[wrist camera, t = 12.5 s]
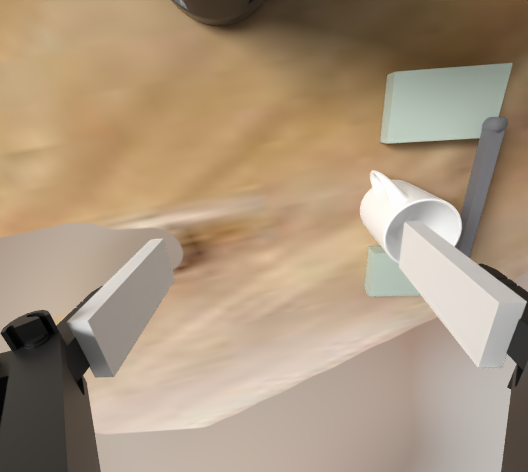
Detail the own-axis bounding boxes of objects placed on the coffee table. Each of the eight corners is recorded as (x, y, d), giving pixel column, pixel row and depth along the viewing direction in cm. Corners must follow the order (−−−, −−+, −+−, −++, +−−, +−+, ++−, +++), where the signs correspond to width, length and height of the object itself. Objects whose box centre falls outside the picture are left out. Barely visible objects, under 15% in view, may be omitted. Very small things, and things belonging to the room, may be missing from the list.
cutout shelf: (387, 74, 34) (401, 69, 30) (497, 66, 33) (525, 59, 29) (364, 287, 46) (371, 302, 43) (442, 285, 46) (457, 300, 42)
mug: (391, 145, 37) (433, 155, 27) (426, 213, 41) (473, 243, 31) (336, 181, 39) (356, 202, 29) (374, 242, 43) (402, 279, 33)
